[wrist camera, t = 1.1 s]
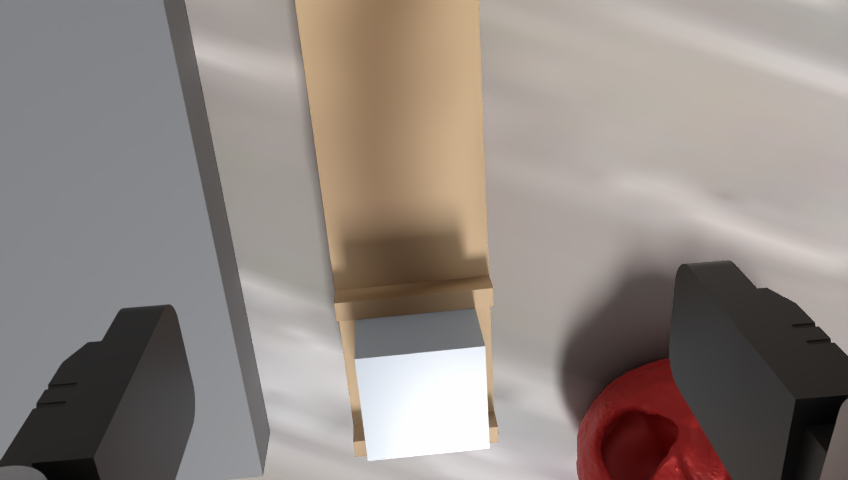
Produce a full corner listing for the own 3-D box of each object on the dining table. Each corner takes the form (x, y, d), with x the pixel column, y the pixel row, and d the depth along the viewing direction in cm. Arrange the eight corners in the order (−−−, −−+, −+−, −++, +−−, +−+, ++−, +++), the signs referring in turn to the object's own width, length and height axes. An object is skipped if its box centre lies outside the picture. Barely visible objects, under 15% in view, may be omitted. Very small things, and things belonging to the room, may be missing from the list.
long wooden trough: (443, -423, 24) (465, -500, 19) (479, 365, 37) (498, 441, 32) (252, -410, 24) (223, -485, 19) (356, 377, 37) (355, 457, 32)
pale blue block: (472, 295, 30) (485, 346, 27) (476, 390, 32) (489, 448, 29) (355, 306, 30) (354, 359, 27) (367, 401, 32) (368, 460, 29)
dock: (99, -426, 23) (62, -468, 20) (270, 432, 38) (262, 479, 35) (-342, -398, 23) (-444, -437, 20) (0, 460, 37) (-30, 509, 34)
